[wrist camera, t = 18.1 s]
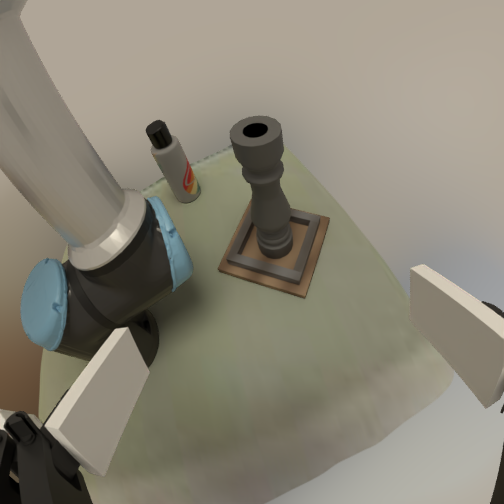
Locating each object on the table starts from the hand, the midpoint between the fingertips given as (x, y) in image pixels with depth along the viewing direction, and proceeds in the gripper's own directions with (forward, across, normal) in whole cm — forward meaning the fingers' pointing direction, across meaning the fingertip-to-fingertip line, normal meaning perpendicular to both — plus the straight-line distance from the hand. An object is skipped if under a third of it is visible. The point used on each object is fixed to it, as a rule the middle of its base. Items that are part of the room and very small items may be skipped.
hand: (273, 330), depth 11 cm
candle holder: (+38, +2, -6) cm, 39 cm away
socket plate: (+39, +2, -7) cm, 40 cm away
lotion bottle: (+52, -14, +6) cm, 54 cm away
